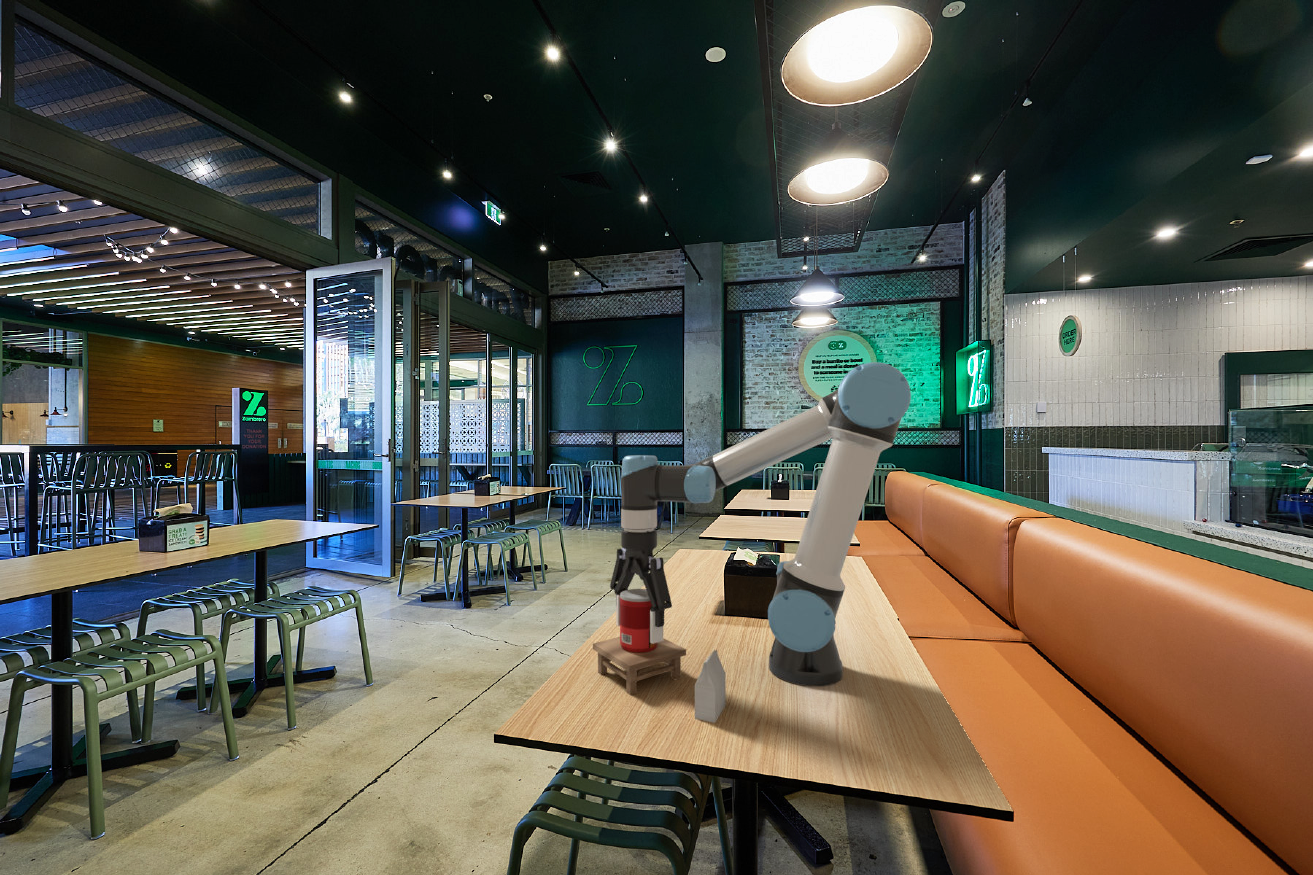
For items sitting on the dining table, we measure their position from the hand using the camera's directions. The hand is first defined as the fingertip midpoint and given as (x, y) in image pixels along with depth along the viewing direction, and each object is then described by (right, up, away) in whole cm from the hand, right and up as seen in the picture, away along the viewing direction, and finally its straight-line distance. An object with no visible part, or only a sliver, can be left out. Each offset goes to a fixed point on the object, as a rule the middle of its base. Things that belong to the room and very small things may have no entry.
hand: (638, 632), depth 110 cm
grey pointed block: (+13, -9, -15) cm, 22 cm away
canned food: (0, -3, 0) cm, 3 cm away
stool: (0, -9, 0) cm, 9 cm away
